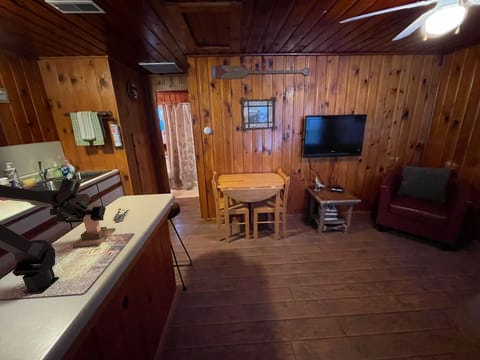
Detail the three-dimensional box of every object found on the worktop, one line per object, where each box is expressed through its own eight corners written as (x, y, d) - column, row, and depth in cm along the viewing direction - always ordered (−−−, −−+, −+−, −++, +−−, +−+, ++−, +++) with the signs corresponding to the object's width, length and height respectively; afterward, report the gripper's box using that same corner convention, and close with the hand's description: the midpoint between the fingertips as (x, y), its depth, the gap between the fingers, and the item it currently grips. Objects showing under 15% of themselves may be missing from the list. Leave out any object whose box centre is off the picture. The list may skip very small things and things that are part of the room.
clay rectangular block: (99, 237, 95) (92, 213, 91) (88, 237, 94) (81, 213, 91) (102, 234, 97) (96, 210, 93) (91, 235, 97) (85, 211, 93)
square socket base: (98, 246, 89) (96, 237, 88) (73, 248, 89) (70, 239, 88) (115, 230, 103) (113, 222, 102) (93, 231, 102) (91, 224, 101)
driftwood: (123, 222, 112) (122, 219, 111) (109, 225, 110) (108, 221, 109) (130, 209, 131) (130, 206, 130) (119, 210, 129) (118, 207, 128)
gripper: (98, 189, 86) (117, 203, 99) (52, 191, 85) (78, 205, 98) (90, 213, 80) (111, 225, 94) (42, 217, 79) (70, 227, 93)
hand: (93, 220), depth 95 cm, fingers open, 9 cm apart
